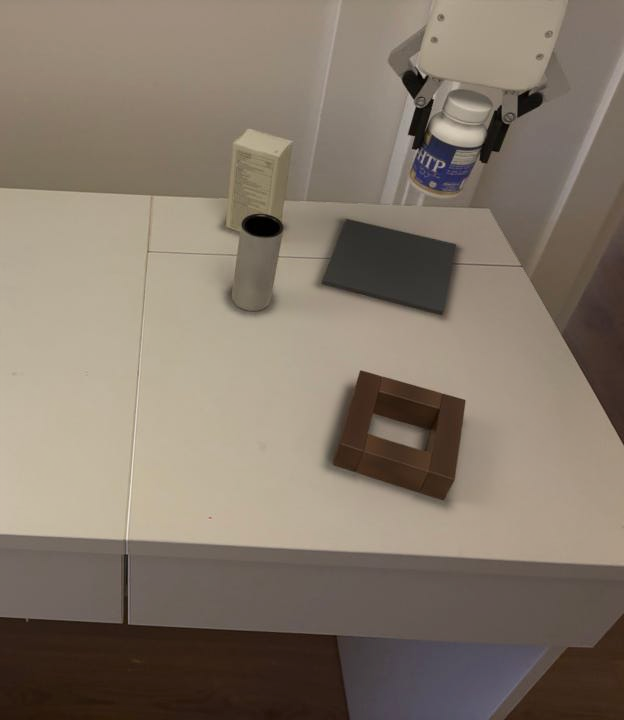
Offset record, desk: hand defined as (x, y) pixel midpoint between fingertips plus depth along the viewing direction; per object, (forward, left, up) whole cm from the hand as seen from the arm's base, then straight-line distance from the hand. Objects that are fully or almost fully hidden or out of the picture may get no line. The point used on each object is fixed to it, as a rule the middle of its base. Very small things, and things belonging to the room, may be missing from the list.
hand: (450, 147), depth 69 cm
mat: (+2, -10, -21) cm, 24 cm away
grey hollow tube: (+16, +3, -22) cm, 27 cm away
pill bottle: (0, 0, -4) cm, 4 cm away
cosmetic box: (+20, -11, -22) cm, 31 cm away
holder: (-3, +18, -22) cm, 28 cm away
